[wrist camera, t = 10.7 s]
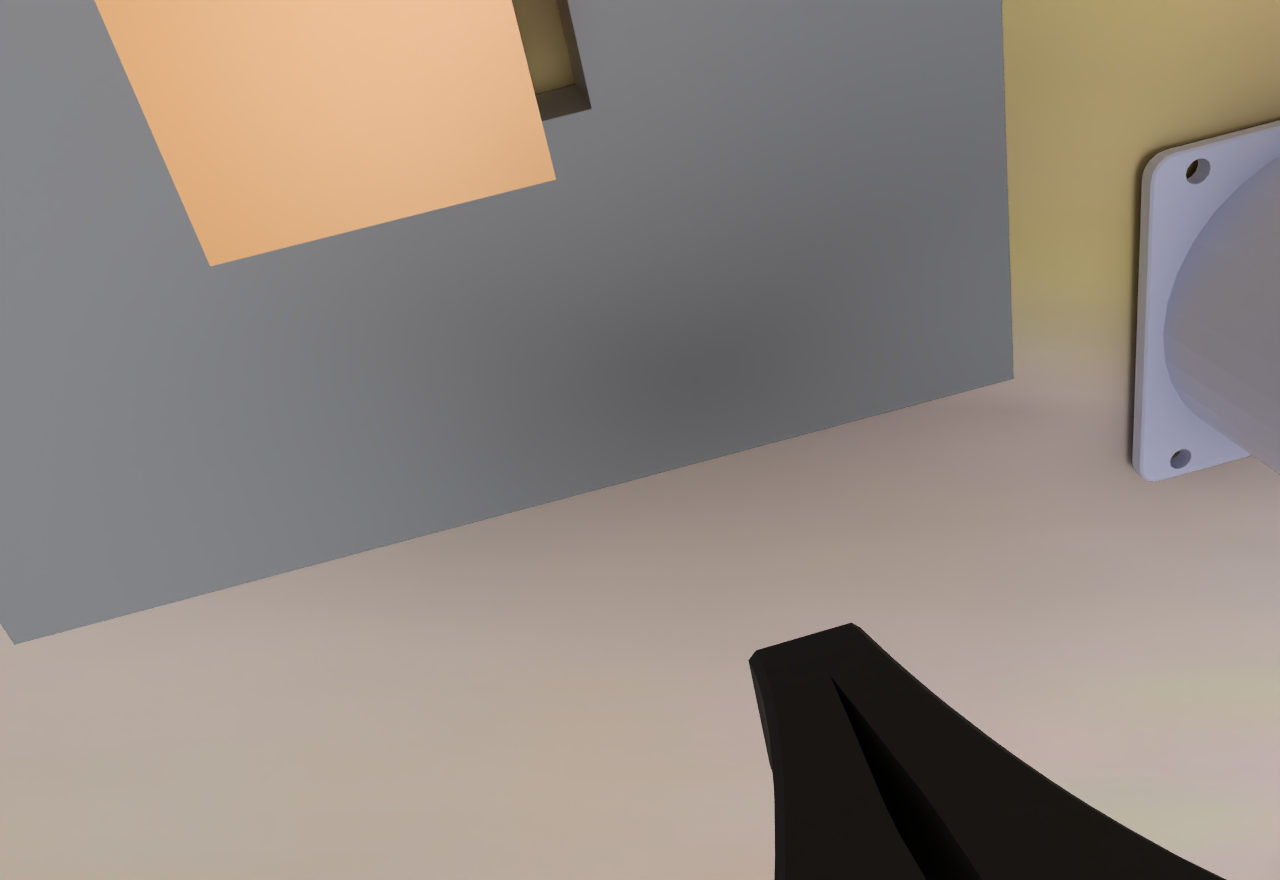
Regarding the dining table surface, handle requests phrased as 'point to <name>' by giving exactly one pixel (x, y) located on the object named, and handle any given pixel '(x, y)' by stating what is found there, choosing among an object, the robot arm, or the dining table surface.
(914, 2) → the socket plate
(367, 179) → the plug
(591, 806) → the dining table surface
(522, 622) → the dining table surface
